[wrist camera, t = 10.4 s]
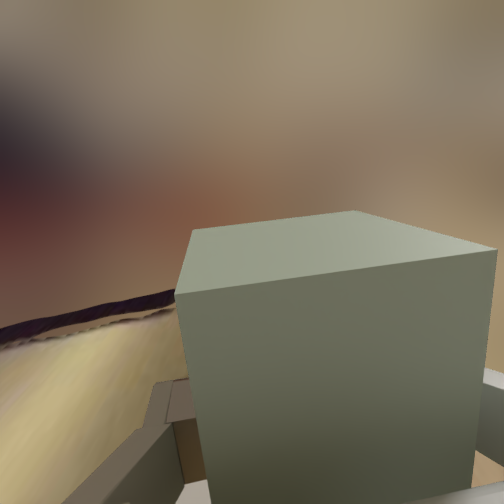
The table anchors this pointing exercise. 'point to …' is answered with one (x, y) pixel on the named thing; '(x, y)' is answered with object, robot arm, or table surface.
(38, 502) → the table surface
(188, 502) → the grey cube
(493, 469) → the table surface
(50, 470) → the table surface
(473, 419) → the sage block
